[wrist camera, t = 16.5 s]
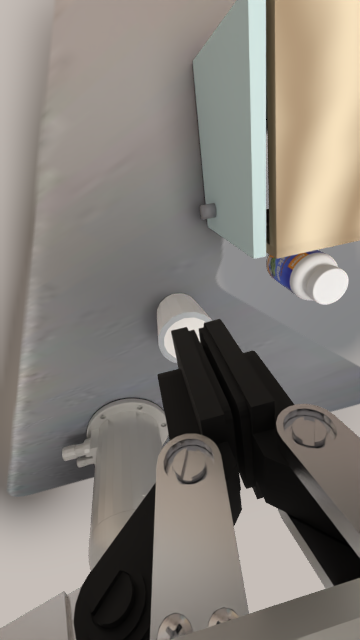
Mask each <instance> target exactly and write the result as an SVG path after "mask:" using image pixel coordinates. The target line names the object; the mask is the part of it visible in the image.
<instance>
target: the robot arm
mask: <svg viewBox="0 0 360 640" xmlns="http://www.w3.org/2000/svg"><path fill="white" fill-rule="evenodd" d="M171 334H172V339H173V344H174V349H175V354H176V358H177V363H178V368H179V369H177V370H173V371H169V372H165V373H161V374H158V380H159V386H160V391H161V396H162V402H163V407H164V411H163V410H162V409H161V408H160V407H159V406H157V405H156V404H154V403H152V402H150V401H146V400H143V399H123V400H118V401H115V402H112V403H109V404H108V405H106V406H104V407H102V408H101V409H100V410H98V411H97V412H96V413H95V414H94V415H93V416H92V418H91V420H90V421H89V424H88V427H87V439H85V440H84V443H81V444H74V445H70V446H66V447H63V450H62V456H63V459H64V461H68V460H71V459H75V458H77V465H78V467H79V468H80V467H83V466H87V465H89V464H93V463H94V465H95V475H94V488H93V502H92V515H91V528H90V539H89V565H90V569H91V572H90V574H89V575H88V577H87V579H86V580H85V582H84V584H83V585H82V587H80V588H78V589H76V590H75V591H73V592H71V593H70V594H68V595H67V594H66V593H65V592H62V593H60V594H58V595H57V596H55V597H53V598H52V599H50V600H48V601H47V602H45V603H43V604H42V605H40V606H38V607H36V608H35V609H33V610H31V611H29V612H28V613H26V614H25V615H23V616H21V617H19V618H18V619H16V620H14V621H12V622H11V623H9V624H7V625H6V626H4V627H2V628H0V640H360V438H359V437H358V436H357V435H356V434H355V433H354V432H353V431H352V430H350V429H349V428H348V427H347V426H346V425H345V424H344V423H343V422H342V421H340V420H339V419H338V418H337V417H336V416H335V415H333V414H332V413H331V412H329V411H328V410H326V409H324V408H321V407H319V406H315V405H310V404H296V405H294V404H293V402H292V401H291V399H290V398H289V397H288V395H287V394H286V393H285V391H284V390H283V389H282V387H281V386H280V385H279V383H278V382H277V380H276V379H275V378H274V376H273V375H272V374H271V372H270V371H269V370H268V368H267V367H266V365H265V364H264V363H263V361H262V360H261V359H260V357H259V356H258V355H257V353H256V352H255V351H250V352H245V353H243V352H242V351H241V349H240V348H239V346H238V345H237V343H236V342H235V340H234V339H233V337H232V336H231V334H230V333H229V331H228V330H227V328H226V327H225V325H224V324H223V322H222V321H221V320H220V319H218V320H214V321H209V322H205V323H204V327H203V328H199V336H200V341H199V339H198V337H197V334H196V332H195V330H190V331H189V330H188V328H187V327H184V328H180V329H176V330H171ZM168 434H169V439H170V441H169V442H168V443H167V444H166V445H165V446H164V447H163V448H162V445H163V444H164V443H165V441H166V439H167V437H168ZM84 455H86V456H84ZM80 456H83V457H80ZM78 457H80V458H78ZM239 473H240V475H241V478H242V480H243V483H244V485H245V487H246V488H251V487H252V488H253V490H254V492H255V495H256V497H257V499H260V498H263V497H264V499H265V501H266V503H268V504H270V505H272V506H274V507H276V508H278V511H279V513H280V515H281V518H282V519H283V521H284V523H285V524H286V526H287V527H288V529H289V531H290V532H291V534H292V535H293V537H294V539H295V540H296V542H297V543H298V545H299V546H300V548H301V550H302V551H303V553H304V555H305V556H306V558H307V559H308V561H309V563H310V564H311V566H312V567H313V569H314V570H315V572H316V573H317V575H318V577H319V578H320V580H321V582H322V583H323V585H324V586H325V588H326V589H324V590H321V591H318V592H315V593H312V594H309V595H306V596H302V597H299V598H296V599H293V600H290V601H287V602H284V603H281V604H278V605H275V606H272V607H269V608H266V609H263V610H259V611H256V612H253V613H250V614H249V611H248V605H247V600H246V594H245V588H244V583H243V577H242V572H241V566H240V560H239V554H238V549H237V543H236V537H235V532H234V525H235V523H236V521H237V518H238V517H239V514H240V512H241V510H242V508H241V498H240V490H241V487H240V478H239Z"/></svg>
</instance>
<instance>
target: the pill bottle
mask: <svg viewBox="0 0 360 640" xmlns="http://www.w3.org/2000/svg"><path fill="white" fill-rule="evenodd" d="M266 266H267V271H268V272H269V274H270V275H271V276H272V277H273V278H274V279H275V280H276V281H278V282H279V283H280V284H282V285H283V286H284V287H286V288H287V289H288V290H290V291H291V292H292V293H294V294H295V295H297V296H298V297H299V298H301V299H304V300H314V301H316V302H318V303H320V304H324V305H325V304H331V303H333V302H335V301H337V300H338V299H339V298H341V297H342V295H343V294H344V293H345V291H346V289H347V286H348V276H347V274H346V272H345V271H343V270H342V269H340V268H338V266H337V263H336V262H335V260H334V259H333V258H332V257H331V256H329V255H327V254H325V253H323V252H320V251H318V250H314V251H309V252H305V253H300V254H296V255H291V256H287V257H282V258H278V259H276V258H275V257H273V256H271V255H270V254H269V255H268V257H267V261H266Z"/></svg>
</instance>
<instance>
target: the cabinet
mask: <svg viewBox="0 0 360 640" xmlns="http://www.w3.org/2000/svg"><path fill="white" fill-rule="evenodd" d="M266 70H267V125H268V179H269V209H266V253H268V254H270V255H271V256H273V257H275V258H276V259H278V258H282V257H287V256H291V255H296V254H300V253H305V252H309V251H314V250H318V249H322V248H327V247H332V246H336V245H341V244H345V243H350V242H354V241H359V240H360V0H266Z"/></svg>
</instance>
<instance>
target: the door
mask: <svg viewBox="0 0 360 640" xmlns="http://www.w3.org/2000/svg"><path fill="white" fill-rule="evenodd" d="M193 72H194V83H195V93H196V104H197V115H198V126H199V137H200V148H201V159H202V169H203V180H204V191H205V202H206V204H205V205H200V216H201V219H202V220H203V219H207V224H208V227H209V228H210V229H212V230H213V231H214V232H216V233H217V234H219V235H220V236H222V237H223V238H224V239H226V240H227V241H229V242H230V243H232V244H233V245H235V246H236V247H238V248H239V249H240V250H242V251H243V252H245V253H246V254H247V255H249V256H250V257H252V258H254V259H256V258H261V257H266V0H237V1H236V2H235V3H234V5H233V6H232V8H231V9H230V10H229V12H228V13H227V14H226V16H225V17H224V19H223V20H222V21H221V23H220V24H219V25H218V27H217V28H216V30H215V31H214V32H213V34H212V35H211V37H210V38H209V39H208V41H207V42H206V43H205V45H204V46H203V48H202V49H201V50H200V52H199V53H198V54H197V56H196V57H195V59H194V60H193Z"/></svg>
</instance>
